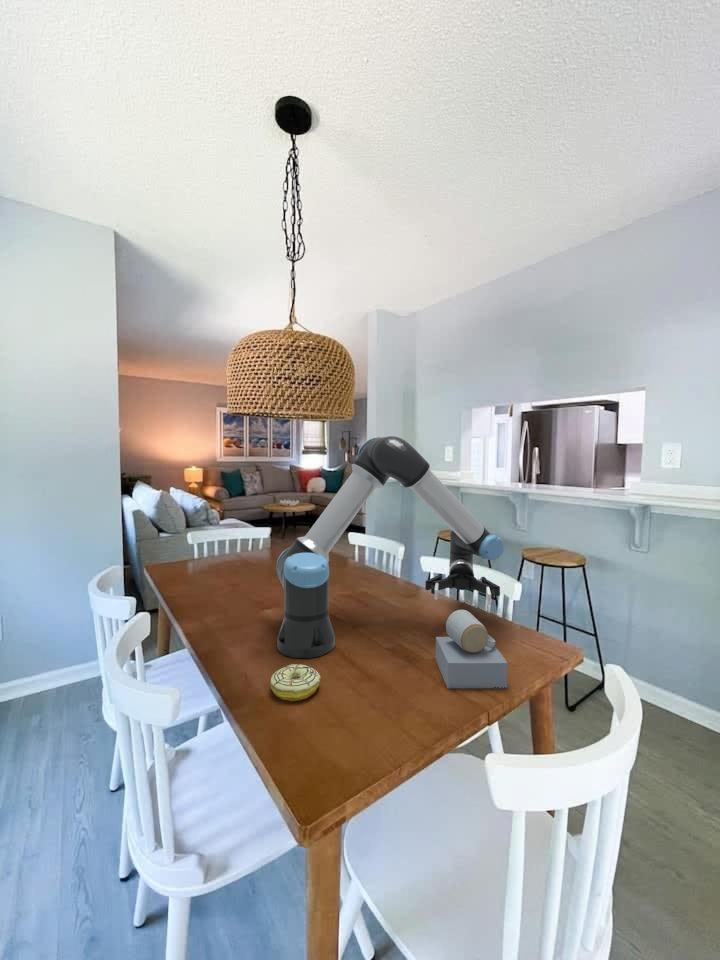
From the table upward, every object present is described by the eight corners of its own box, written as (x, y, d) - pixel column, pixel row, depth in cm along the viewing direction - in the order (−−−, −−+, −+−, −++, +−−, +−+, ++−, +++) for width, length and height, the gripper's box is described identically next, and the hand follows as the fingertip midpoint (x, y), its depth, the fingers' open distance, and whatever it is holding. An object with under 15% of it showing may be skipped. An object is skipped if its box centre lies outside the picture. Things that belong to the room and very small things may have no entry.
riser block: (447, 689, 90) (448, 663, 90) (435, 660, 103) (435, 636, 103) (506, 689, 90) (507, 663, 90) (487, 660, 103) (487, 636, 103)
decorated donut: (323, 677, 94) (323, 661, 94) (316, 705, 83) (316, 687, 83) (277, 675, 95) (278, 659, 94) (265, 703, 84) (265, 685, 84)
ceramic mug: (461, 657, 92) (462, 623, 92) (444, 641, 100) (445, 610, 100) (502, 652, 95) (504, 619, 94) (483, 637, 103) (484, 607, 102)
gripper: (503, 589, 126) (512, 615, 106) (420, 583, 132) (414, 607, 111) (503, 565, 126) (513, 587, 105) (421, 560, 131) (414, 579, 111)
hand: (462, 597), depth 108 cm, fingers open, 13 cm apart
